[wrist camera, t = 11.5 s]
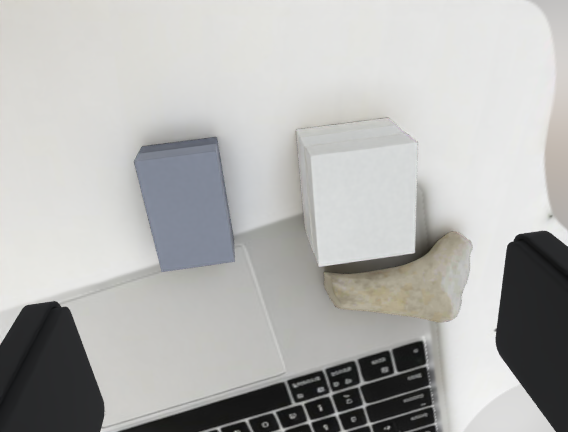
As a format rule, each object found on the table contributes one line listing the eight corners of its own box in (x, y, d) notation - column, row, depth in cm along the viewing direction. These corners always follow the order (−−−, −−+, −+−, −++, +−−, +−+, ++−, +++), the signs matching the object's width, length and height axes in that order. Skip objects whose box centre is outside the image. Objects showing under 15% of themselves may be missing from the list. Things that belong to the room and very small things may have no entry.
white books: (295, 129, 33) (303, 145, 29) (388, 117, 33) (406, 132, 30) (304, 228, 36) (312, 252, 33) (388, 216, 36) (404, 239, 33)
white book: (305, 146, 29) (309, 155, 28) (407, 133, 30) (418, 141, 28) (313, 253, 33) (318, 267, 31) (406, 240, 33) (415, 253, 32)
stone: (459, 220, 37) (490, 253, 33) (467, 284, 40) (496, 321, 36) (318, 263, 37) (331, 301, 33) (336, 323, 40) (350, 365, 36)
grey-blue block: (141, 146, 32) (133, 161, 29) (216, 136, 32) (216, 150, 29) (166, 250, 35) (161, 272, 33) (234, 240, 36) (235, 261, 33)
